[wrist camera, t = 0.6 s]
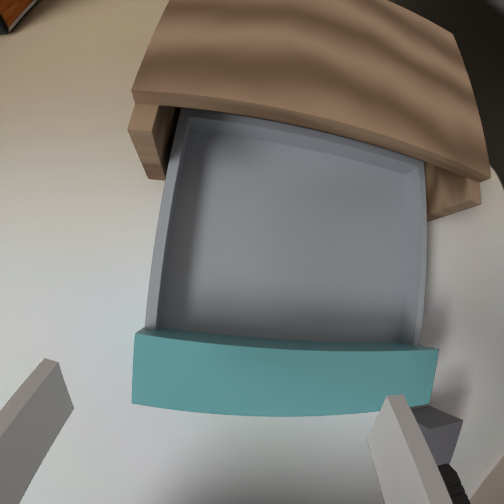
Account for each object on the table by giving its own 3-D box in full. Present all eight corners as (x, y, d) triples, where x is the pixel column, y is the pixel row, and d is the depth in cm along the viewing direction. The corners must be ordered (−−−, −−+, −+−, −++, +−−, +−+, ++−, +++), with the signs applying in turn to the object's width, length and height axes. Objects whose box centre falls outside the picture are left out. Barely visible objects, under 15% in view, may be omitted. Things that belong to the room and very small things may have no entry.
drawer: (393, 388, 28) (429, 403, 22) (145, 379, 24) (131, 403, 19) (407, 172, 31) (440, 153, 25) (180, 126, 27) (177, 90, 22)
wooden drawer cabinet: (420, 223, 31) (493, 199, 20) (148, 178, 27) (122, 117, 16) (406, 79, 34) (452, 34, 23) (191, 27, 30) (194, -45, 19)
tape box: (415, 456, 28) (445, 475, 22) (383, 464, 27) (411, 487, 21) (429, 406, 29) (463, 420, 23) (396, 411, 28) (429, 429, 22)
